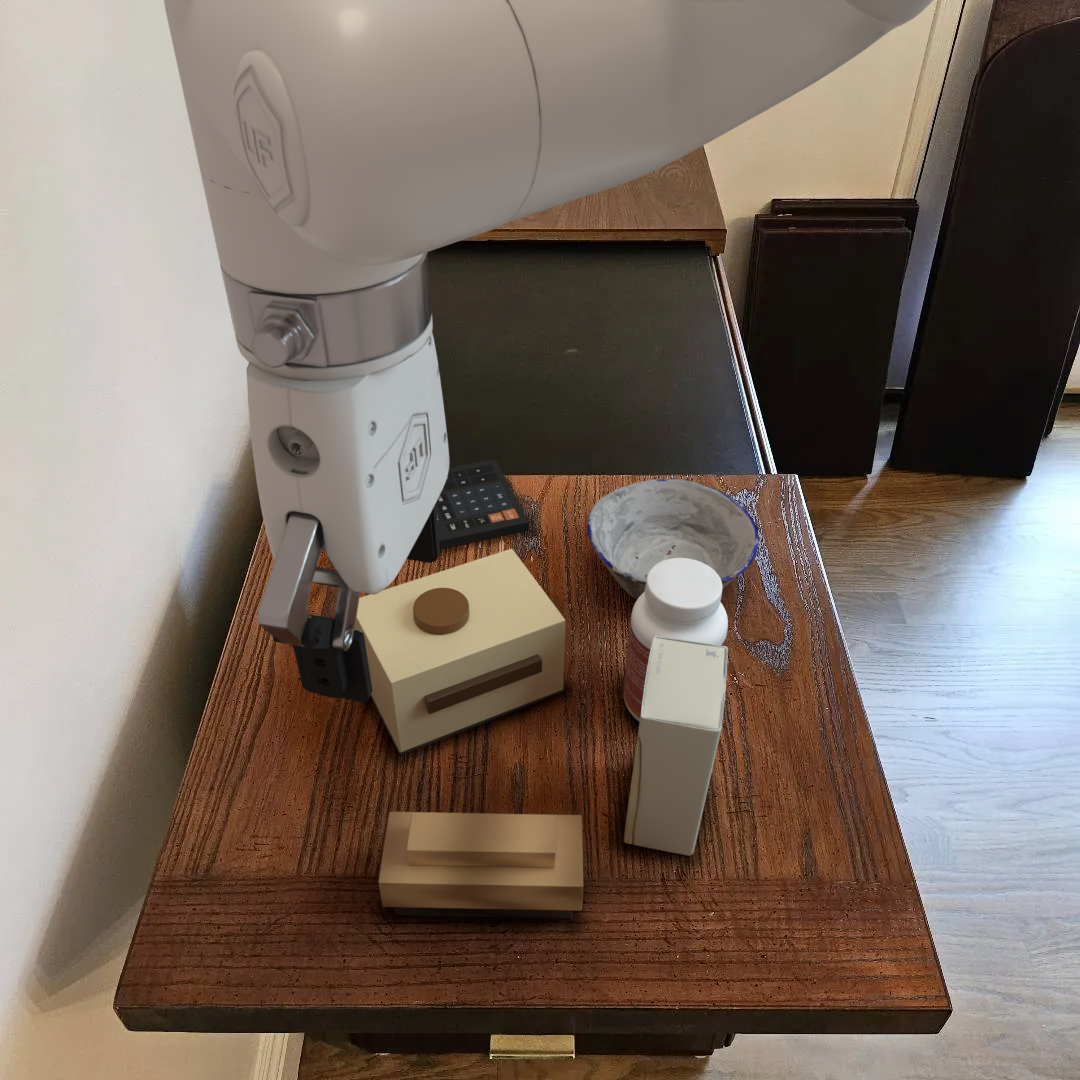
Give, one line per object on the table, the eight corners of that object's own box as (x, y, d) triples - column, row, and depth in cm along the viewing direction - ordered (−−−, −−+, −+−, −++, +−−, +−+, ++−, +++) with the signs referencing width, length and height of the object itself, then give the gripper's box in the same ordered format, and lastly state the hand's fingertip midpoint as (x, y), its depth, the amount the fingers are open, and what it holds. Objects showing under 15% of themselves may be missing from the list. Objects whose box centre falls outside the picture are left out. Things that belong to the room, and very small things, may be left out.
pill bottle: (663, 751, 65) (679, 632, 58) (604, 693, 69) (613, 573, 62) (732, 709, 68) (756, 590, 61) (672, 655, 72) (688, 536, 65)
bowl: (783, 606, 76) (793, 558, 72) (630, 652, 72) (634, 603, 69) (699, 507, 85) (705, 461, 82) (560, 543, 81) (561, 496, 78)
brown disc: (478, 623, 64) (478, 615, 64) (426, 642, 63) (425, 633, 62) (456, 589, 67) (455, 580, 66) (405, 606, 65) (404, 597, 65)
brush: (579, 854, 59) (583, 798, 56) (581, 925, 56) (584, 871, 52) (395, 850, 59) (386, 795, 56) (384, 921, 56) (375, 867, 52)
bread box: (568, 697, 69) (570, 625, 64) (403, 762, 64) (393, 690, 60) (513, 618, 74) (512, 547, 70) (358, 672, 70) (346, 600, 66)
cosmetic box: (636, 763, 64) (650, 631, 56) (705, 775, 64) (729, 642, 56) (622, 847, 60) (636, 715, 52) (696, 861, 59) (722, 730, 51)
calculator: (528, 530, 82) (528, 501, 80) (389, 559, 79) (386, 530, 77) (495, 466, 89) (494, 439, 87) (366, 491, 86) (362, 463, 84)
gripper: (334, 434, 31) (387, 775, 42) (488, 218, 44) (497, 522, 55) (116, 402, 32) (223, 741, 43) (328, 202, 45) (368, 502, 56)
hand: (376, 618), depth 49 cm, fingers open, 9 cm apart
